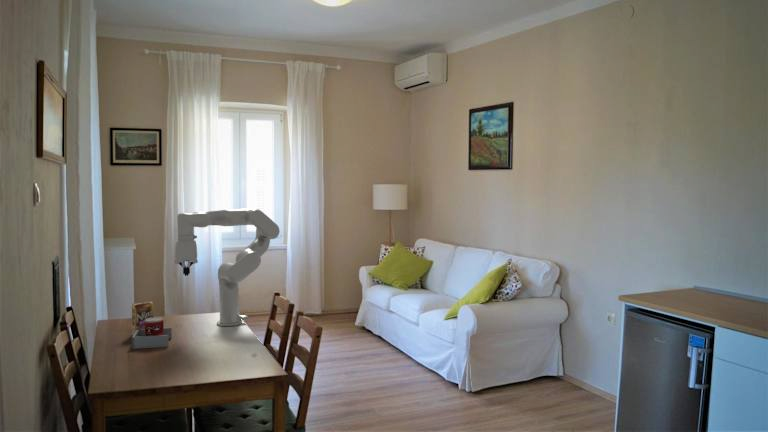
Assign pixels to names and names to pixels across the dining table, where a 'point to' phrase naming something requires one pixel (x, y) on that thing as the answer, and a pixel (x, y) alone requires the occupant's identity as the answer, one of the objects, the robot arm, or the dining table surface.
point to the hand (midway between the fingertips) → (186, 275)
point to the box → (151, 339)
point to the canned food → (154, 326)
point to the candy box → (141, 315)
